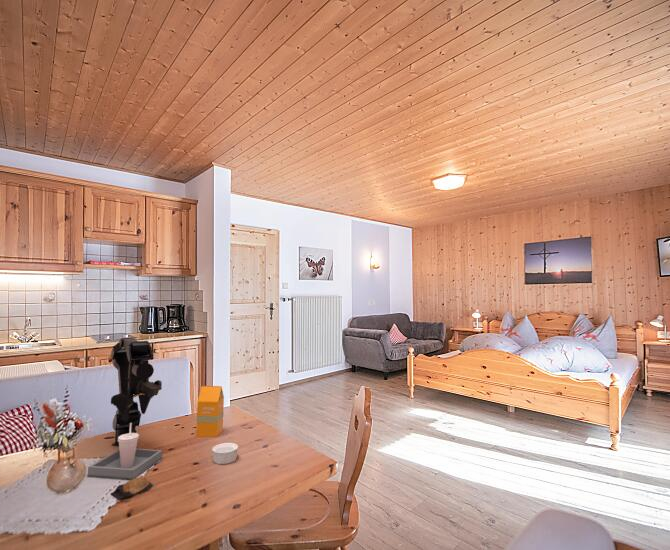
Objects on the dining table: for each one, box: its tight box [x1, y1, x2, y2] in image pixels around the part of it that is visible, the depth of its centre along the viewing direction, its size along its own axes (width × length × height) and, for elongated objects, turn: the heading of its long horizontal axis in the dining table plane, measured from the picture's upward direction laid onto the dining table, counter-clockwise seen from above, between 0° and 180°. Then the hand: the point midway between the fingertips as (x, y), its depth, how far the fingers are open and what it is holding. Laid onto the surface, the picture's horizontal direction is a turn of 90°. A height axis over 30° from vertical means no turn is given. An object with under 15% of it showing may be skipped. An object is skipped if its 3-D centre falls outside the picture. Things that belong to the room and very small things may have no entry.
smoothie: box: [118, 423, 140, 468], centre depth 124 cm, size 6×6×14 cm
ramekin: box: [211, 442, 239, 465], centre depth 131 cm, size 9×9×4 cm
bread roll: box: [110, 476, 157, 502], centre depth 109 cm, size 11×8×4 cm
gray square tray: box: [87, 448, 163, 481], centre depth 123 cm, size 16×16×3 cm
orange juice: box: [195, 385, 225, 438], centre depth 156 cm, size 8×9×20 cm
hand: (134, 417), depth 135 cm, fingers open, 9 cm apart
